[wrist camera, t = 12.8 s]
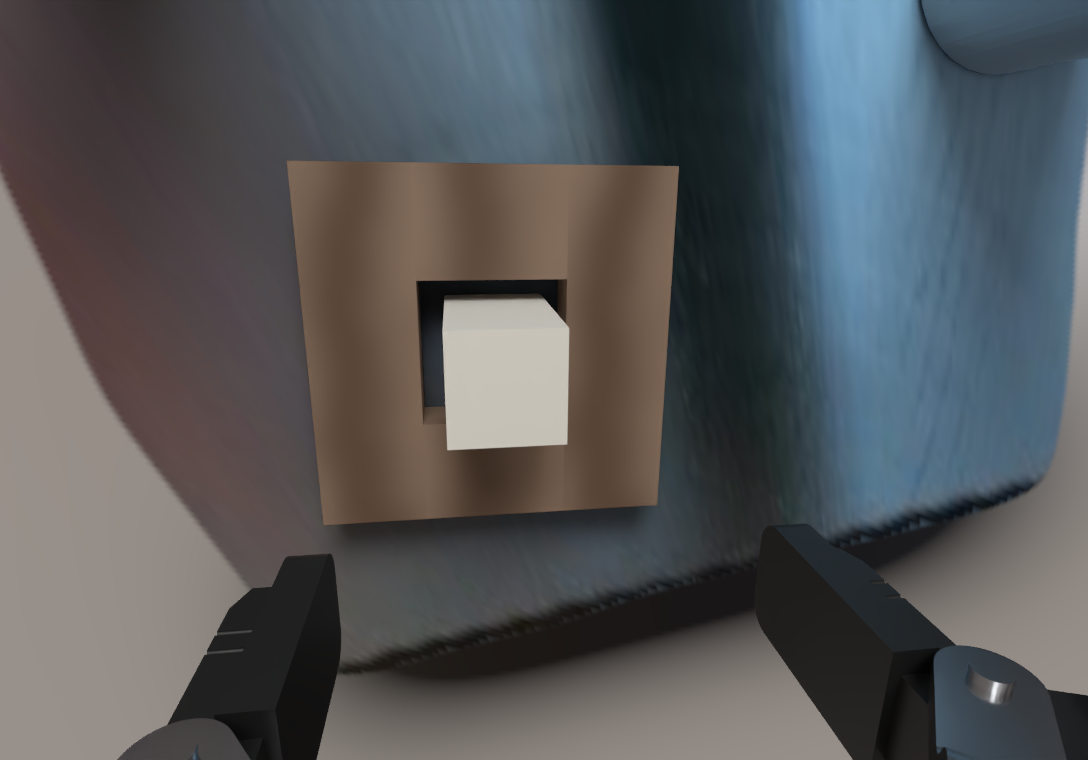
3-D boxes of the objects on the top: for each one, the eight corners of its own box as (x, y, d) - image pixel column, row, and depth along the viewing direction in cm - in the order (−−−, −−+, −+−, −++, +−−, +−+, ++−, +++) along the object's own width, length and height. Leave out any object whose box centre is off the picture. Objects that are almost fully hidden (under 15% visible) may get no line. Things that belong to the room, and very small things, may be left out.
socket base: (660, 168, 30) (678, 166, 27) (642, 482, 34) (656, 504, 32) (300, 163, 27) (286, 160, 25) (333, 500, 32) (323, 525, 30)
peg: (539, 293, 30) (569, 327, 23) (539, 383, 32) (567, 444, 24) (444, 295, 30) (442, 331, 22) (448, 386, 31) (447, 450, 24)
